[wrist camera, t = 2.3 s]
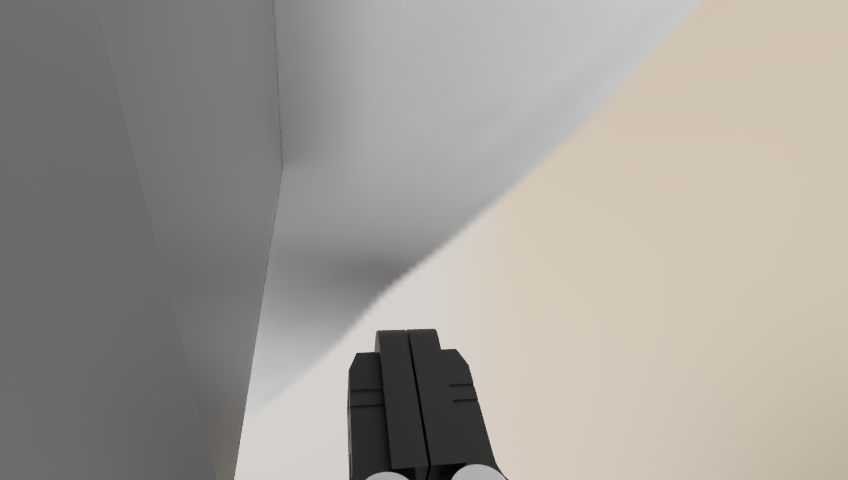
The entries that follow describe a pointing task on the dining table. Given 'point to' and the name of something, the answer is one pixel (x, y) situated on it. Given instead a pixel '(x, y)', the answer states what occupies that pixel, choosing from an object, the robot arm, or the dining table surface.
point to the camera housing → (132, 233)
